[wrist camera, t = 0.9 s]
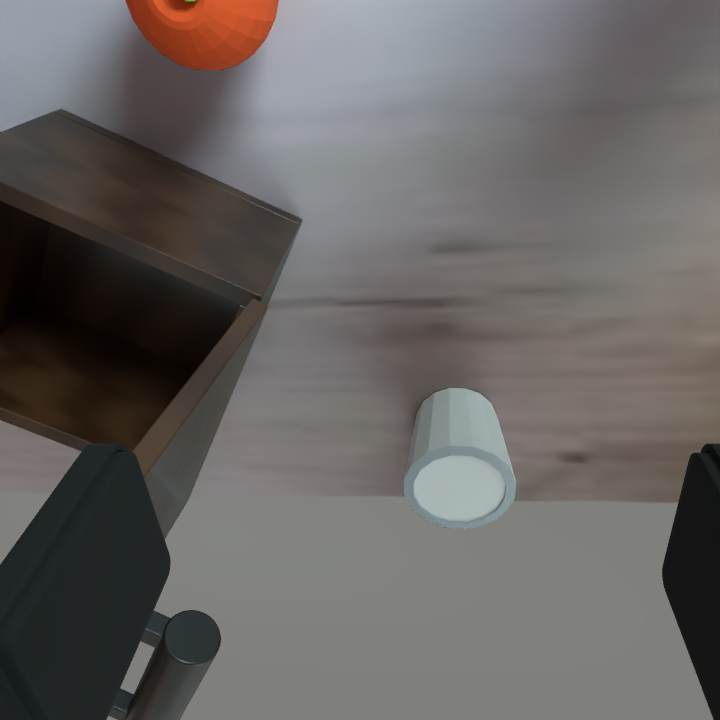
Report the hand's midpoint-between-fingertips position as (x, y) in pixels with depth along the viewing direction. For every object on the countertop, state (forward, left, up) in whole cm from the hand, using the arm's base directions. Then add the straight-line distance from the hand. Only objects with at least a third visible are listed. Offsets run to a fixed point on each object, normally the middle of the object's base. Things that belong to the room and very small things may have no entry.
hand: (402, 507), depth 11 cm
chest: (+14, -12, -28) cm, 34 cm away
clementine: (-3, -12, -28) cm, 31 cm away
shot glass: (+16, +11, -28) cm, 34 cm away
